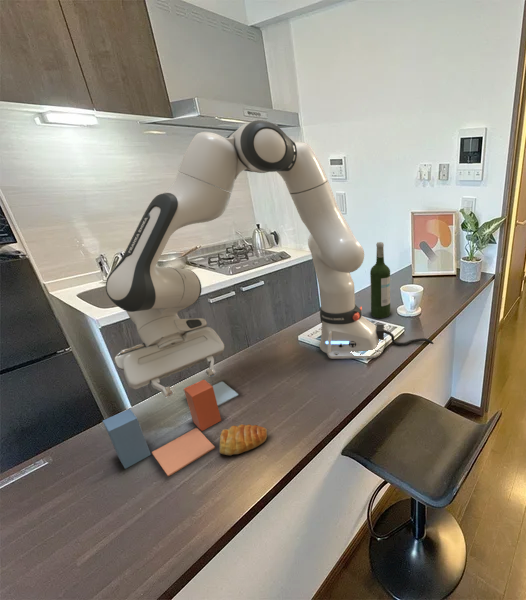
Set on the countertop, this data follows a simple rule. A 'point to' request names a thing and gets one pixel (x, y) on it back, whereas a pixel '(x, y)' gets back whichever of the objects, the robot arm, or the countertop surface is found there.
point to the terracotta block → (202, 404)
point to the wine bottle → (380, 285)
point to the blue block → (127, 438)
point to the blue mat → (223, 393)
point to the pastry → (241, 438)
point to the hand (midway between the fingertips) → (191, 385)
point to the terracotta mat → (182, 451)
